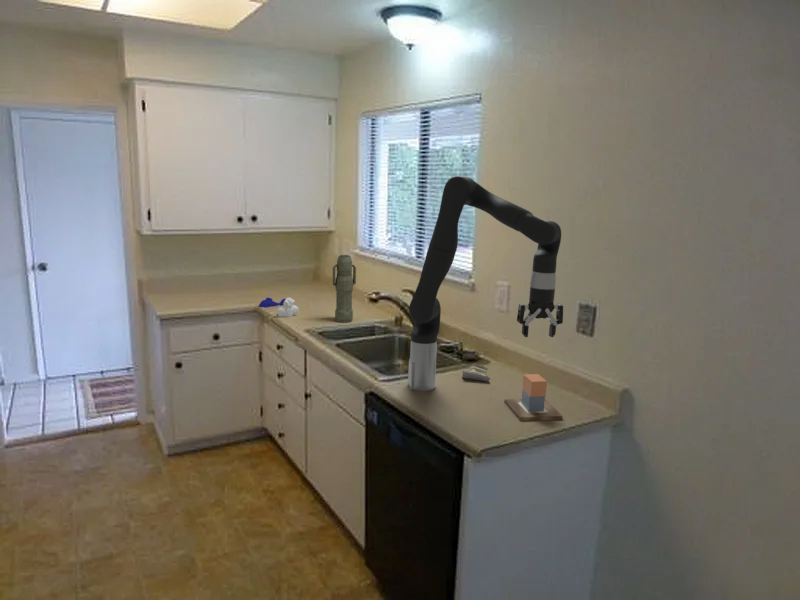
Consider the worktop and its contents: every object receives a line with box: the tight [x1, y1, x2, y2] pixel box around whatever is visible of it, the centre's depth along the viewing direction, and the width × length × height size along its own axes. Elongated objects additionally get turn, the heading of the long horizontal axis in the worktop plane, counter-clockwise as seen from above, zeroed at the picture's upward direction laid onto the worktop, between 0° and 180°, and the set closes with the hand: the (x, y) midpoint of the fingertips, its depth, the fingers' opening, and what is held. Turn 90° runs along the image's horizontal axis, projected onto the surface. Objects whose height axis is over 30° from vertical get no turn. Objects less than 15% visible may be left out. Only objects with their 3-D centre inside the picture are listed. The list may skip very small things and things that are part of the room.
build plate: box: [504, 398, 564, 422], centre depth 187 cm, size 14×15×1 cm
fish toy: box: [258, 297, 286, 309], centre depth 323 cm, size 15×8×7 cm, turn 115°
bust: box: [277, 297, 300, 318], centre depth 303 cm, size 12×8×11 cm, turn 125°
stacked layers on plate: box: [461, 363, 490, 383], centre depth 217 cm, size 10×9×6 cm
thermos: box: [332, 254, 357, 324], centre depth 292 cm, size 9×12×35 cm
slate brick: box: [521, 388, 546, 412], centre depth 186 cm, size 5×7×5 cm
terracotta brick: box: [522, 373, 548, 397], centre depth 185 cm, size 5×7×5 cm
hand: (538, 336), depth 182 cm, fingers open, 8 cm apart
